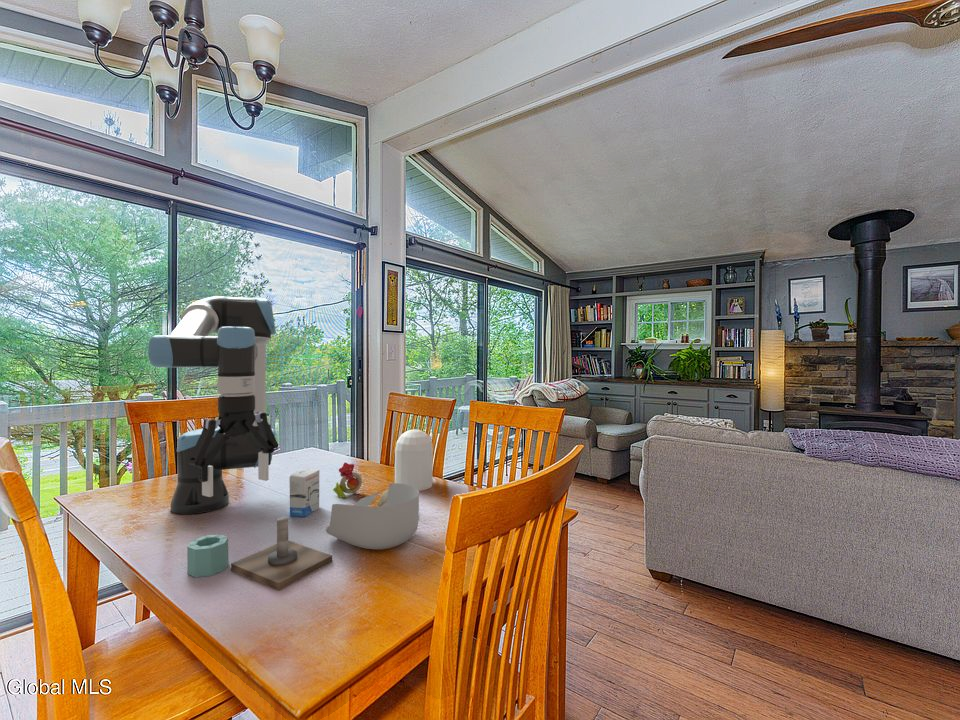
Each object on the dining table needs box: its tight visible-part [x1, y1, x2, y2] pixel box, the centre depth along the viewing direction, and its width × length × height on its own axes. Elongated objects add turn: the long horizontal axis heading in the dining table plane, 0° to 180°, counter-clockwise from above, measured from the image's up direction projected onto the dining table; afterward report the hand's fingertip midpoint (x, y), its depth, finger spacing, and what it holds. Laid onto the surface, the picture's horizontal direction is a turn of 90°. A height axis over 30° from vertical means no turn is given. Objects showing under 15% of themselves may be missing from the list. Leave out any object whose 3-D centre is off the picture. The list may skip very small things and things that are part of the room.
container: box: [394, 428, 434, 492], centre depth 160 cm, size 14×13×20 cm
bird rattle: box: [332, 462, 363, 499], centre depth 149 cm, size 6×11×9 cm
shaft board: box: [230, 517, 333, 591], centre depth 101 cm, size 16×14×10 cm
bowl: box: [325, 482, 420, 550], centre depth 116 cm, size 20×19×12 cm
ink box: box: [289, 468, 320, 518], centre depth 134 cm, size 9×5×12 cm, turn 168°
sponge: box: [377, 488, 389, 507], centre depth 134 cm, size 9×10×10 cm
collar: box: [186, 534, 229, 578], centre depth 99 cm, size 7×7×6 cm
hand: (237, 487), depth 103 cm, fingers open, 13 cm apart
